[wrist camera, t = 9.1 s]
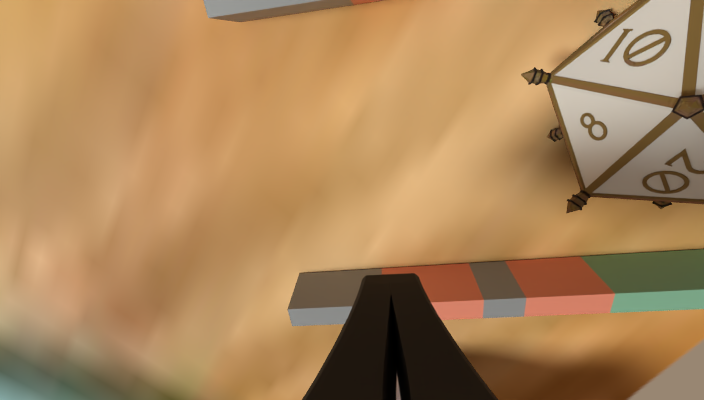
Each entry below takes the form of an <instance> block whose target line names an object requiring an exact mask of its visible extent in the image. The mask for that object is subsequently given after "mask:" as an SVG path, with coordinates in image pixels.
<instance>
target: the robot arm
mask: <svg viewBox="0 0 704 400" xmlns="http://www.w3.org/2000/svg"><path fill="white" fill-rule="evenodd" d="M302 400H498V399H497V398H496V396H495V395H494V394H493V393H492V391H491V390H490V389H489V387H488V386H487V385H486V384H485V382H484V381H483V380H482V378H481V377H480V376H479V374H478V373H477V372H476V370H475V369H474V368H473V366H472V365H471V363H470V362H469V361H468V359H467V358H466V357H465V355H464V354H463V352H462V351H461V349H460V348H459V347H458V345H457V344H456V342H455V341H454V339H453V337H452V336H451V334H450V333H449V331H448V330H447V328H446V327H445V325H444V324H443V322H442V321H441V319H440V317H439V316H438V314H437V312H436V310H435V309H434V307H433V305H432V303H431V302H430V300H429V298H428V296H427V294H426V292H425V290H424V288H423V286H422V284H421V281H420V279H419V276H417V275H416V274H415V273H405V274H382V275H366V276H365V277H364V278H363V279H362V281H361V285H360V288H359V291H358V294H357V297H356V299H355V302H354V304H353V306H352V309H351V311H350V313H349V316H348V318H347V320H346V322H345V324H344V326H343V328H342V330H341V332H340V334H339V336H338V338H337V340H336V342H335V344H334V346H333V348H332V350H331V352H330V353H329V355H328V357H327V359H326V360H325V362H324V364H323V366H322V368H321V369H320V371H319V373H318V375H317V376H316V378H315V380H314V381H313V383H312V385H311V386H310V388H309V390H308V391H307V393H306V394H305V396H304V397H303V399H302Z"/></svg>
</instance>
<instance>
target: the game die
mask: <svg viewBox="0 0 704 400" xmlns="http://www.w3.org/2000/svg"><path fill="white" fill-rule="evenodd" d="M594 22H596V23H599V24H598V26H603V28H602V29H601V30H599V31H598V32H597V33H596V34H595V35H594V36H592V37H591V38H590V39H589V40H588V41H587V42H586V43H584V44H583V45H582V46H581V47H580V48H579V49H577V50H576V51H575V52H574V53H573V54H572V55H570V56H569V57H568V58H567V59H566V60H565V61H564V62H562V63H561V64H560V65H559V66H558V67H557V68H555V69H554V70H553V71H552V72H551V73H546V72H544V71H543V69H541V70H537V69H536V68H535V67H534V69H533V70H530V71H528V72H525V73H523V74H521V75H522V76H523V77H524V78H525V79H526V80H527V81H528V82H529V84H531V83H534V84H535V85H538V84H540V83H545V84H546V85H547V88H548V91H549V94H550V98H551V101H552V104H553V107H554V110H555V113H556V116H557V119H558V122H559V125H560V128H561V129H555V130H551V131H550V134H549V135H548V136H547V138H549V139H552V140H553V141H554V142H555V141H556V140H560V139H561V138H562V137H564V140H565V143H566V146H567V149H568V152H569V155H570V159H571V162H572V165H573V168H574V171H575V174H576V177H577V180H578V183H579V186H580V189H581V191H580V192H579V193H578V194H576V195H572V196H573V197H572V198H571V199H570V200H569V199H568V200H567V201H568V205H567V213H569V212H573V211H576V210H582V207H583V206H584V205H587V200H588V198H590V197H603V198H618V199H633V200H649V201H653V204H655V205H657V206H658V207H659V208H660V209H662V208H664V207H666V206H668V205H672V203H671V202H679V203H695V204H704V0H638V1H637V2H635V3H634V4H633V5H631V6H630V7H629V8H627V9H626V10H625V11H623V12H622V13H621V14H619V15H618V16H617V17H615V18H614V19H613V13H610V9H608V10H605V11H597V16H596V19H595V21H594Z"/></svg>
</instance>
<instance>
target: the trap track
mask: <svg viewBox="0 0 704 400" xmlns="http://www.w3.org/2000/svg"><path fill="white" fill-rule="evenodd" d="M376 1H382V0H204V4H205V8H206V11H207V15H208V18H213V19H220V20H228V21H235V22H244V21H250V20H257V19H263V18H270V17H277V16H283V15H290V14H297V13H303V12H310V11H316V10H323V9H330V8H336V7H343V6H349V5H356V4H363V3H369V2H376ZM405 273H415V274H416V275H417V276H419V279H420V281H421V284H422V286H423V288H424V290H425V292H426V294H427V296H428V298H429V300H430V302H431V303H432V305H433V307H434V309H435V310H436V312H437V314H438V316H439V317H440V319H441V320H450V319H474V318H498V317H521V316H545V315H569V314H593V313H617V312H641V311H665V310H689V309H704V249H696V250H679V251H663V252H646V253H630V254H613V255H596V256H580V257H563V258H546V259H530V260H513V261H497V262H480V263H463V264H447V265H430V266H414V267H397V268H380V269H364V270H347V271H330V272H314V273H299V276H298V279H297V283H296V286H295V289H294V292H293V295H292V298H291V301H290V304H289V307H288V312H289V316H290V320H291V323H292V326H306V325H330V324H345V322H346V320H347V318H348V316H349V313H350V311H351V309H352V306H353V304H354V302H355V299H356V297H357V294H358V291H359V288H360V285H361V281H362V279H363V278H364V277H365V276H366V275H382V274H405Z"/></svg>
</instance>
